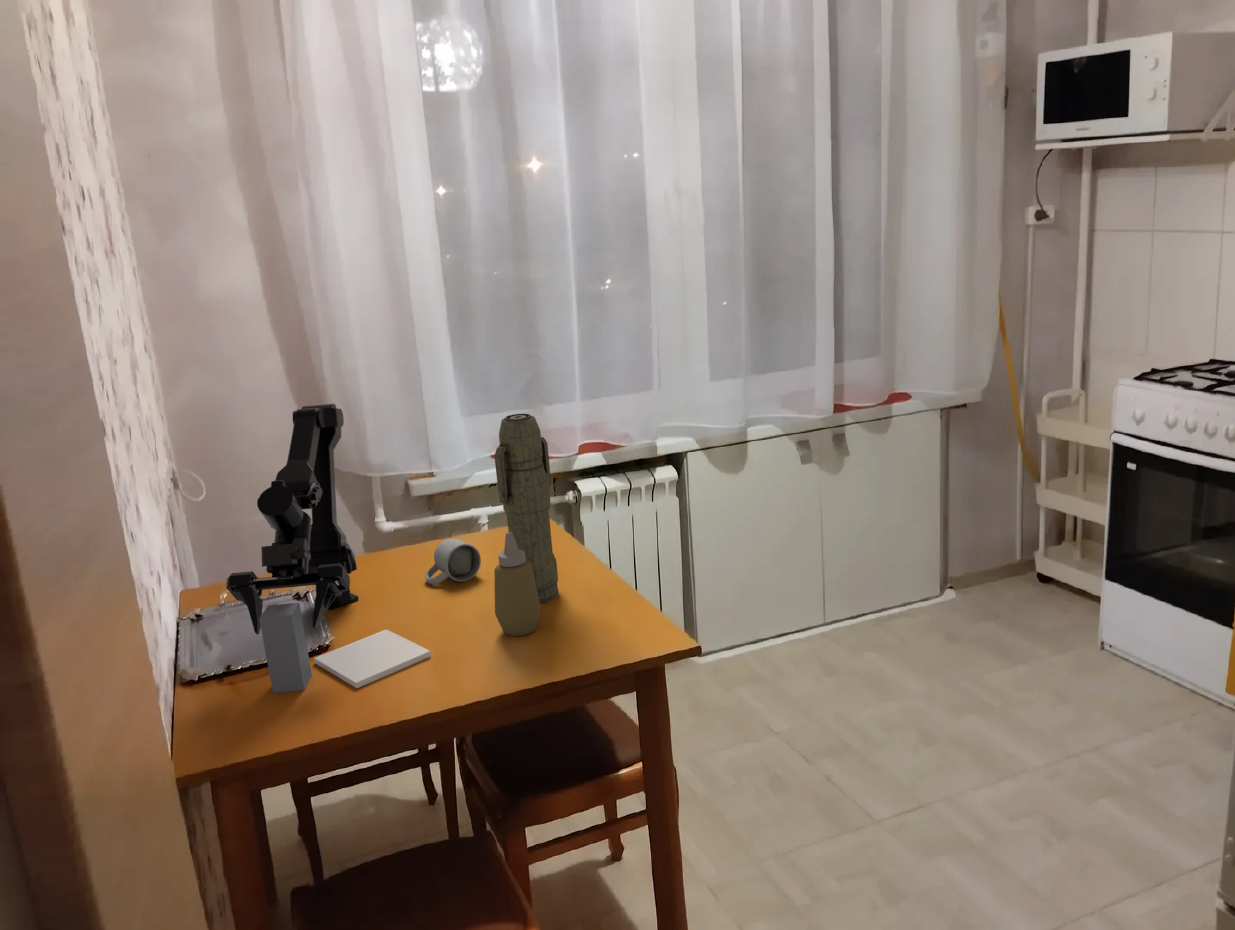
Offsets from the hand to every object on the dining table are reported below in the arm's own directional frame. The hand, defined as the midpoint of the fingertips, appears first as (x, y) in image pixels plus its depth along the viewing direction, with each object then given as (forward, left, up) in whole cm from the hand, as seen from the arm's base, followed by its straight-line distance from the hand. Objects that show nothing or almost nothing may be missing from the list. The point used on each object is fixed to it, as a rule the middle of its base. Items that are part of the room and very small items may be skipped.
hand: (285, 630), depth 158 cm
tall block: (+1, -1, -9) cm, 9 cm away
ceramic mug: (-16, +43, -9) cm, 46 cm away
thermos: (+5, +47, -9) cm, 48 cm away
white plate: (+4, +12, -9) cm, 16 cm away
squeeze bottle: (+15, +35, -9) cm, 39 cm away
